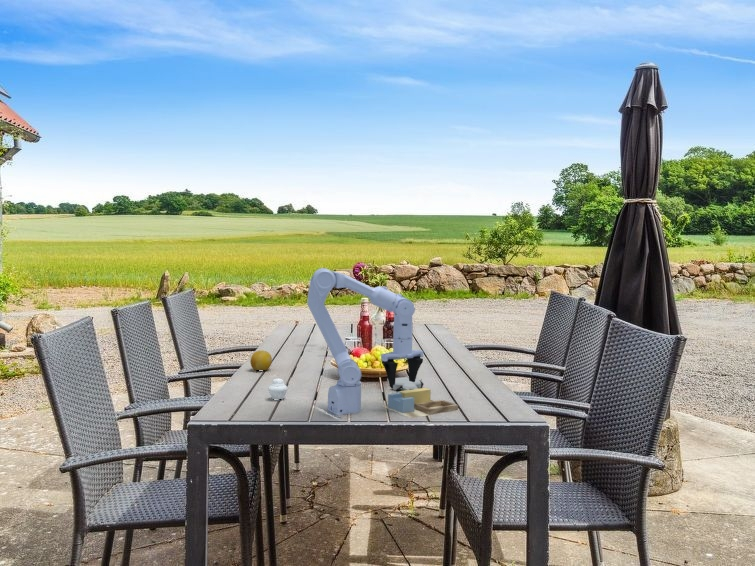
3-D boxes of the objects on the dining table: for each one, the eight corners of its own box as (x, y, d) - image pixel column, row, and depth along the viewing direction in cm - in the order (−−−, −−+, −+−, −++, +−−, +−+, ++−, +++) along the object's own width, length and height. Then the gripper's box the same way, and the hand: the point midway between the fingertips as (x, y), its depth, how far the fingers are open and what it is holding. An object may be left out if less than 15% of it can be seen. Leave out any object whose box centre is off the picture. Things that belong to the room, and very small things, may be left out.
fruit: (269, 373, 247) (269, 352, 246) (248, 372, 247) (248, 352, 246) (273, 368, 255) (273, 349, 255) (253, 368, 256) (253, 349, 255)
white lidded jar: (266, 398, 206) (266, 376, 205) (284, 396, 208) (284, 375, 208) (270, 402, 200) (270, 380, 199) (289, 400, 202) (289, 379, 202)
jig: (411, 421, 179) (411, 412, 179) (381, 409, 192) (381, 401, 192) (459, 413, 189) (460, 404, 189) (428, 402, 202) (428, 394, 202)
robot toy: (430, 401, 207) (420, 388, 222) (430, 388, 206) (421, 375, 221) (393, 402, 205) (386, 388, 220) (393, 389, 205) (386, 376, 219)
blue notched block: (414, 411, 186) (414, 398, 186) (403, 413, 184) (403, 399, 184) (398, 405, 193) (399, 392, 193) (388, 407, 191) (388, 394, 191)
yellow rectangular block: (404, 406, 192) (404, 393, 192) (398, 404, 195) (398, 391, 195) (430, 402, 198) (430, 389, 198) (424, 400, 200) (424, 387, 200)
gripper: (391, 341, 181) (390, 388, 181) (430, 337, 189) (429, 382, 190) (377, 338, 186) (376, 383, 187) (415, 335, 195) (414, 378, 196)
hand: (402, 382), depth 189 cm, fingers open, 7 cm apart
